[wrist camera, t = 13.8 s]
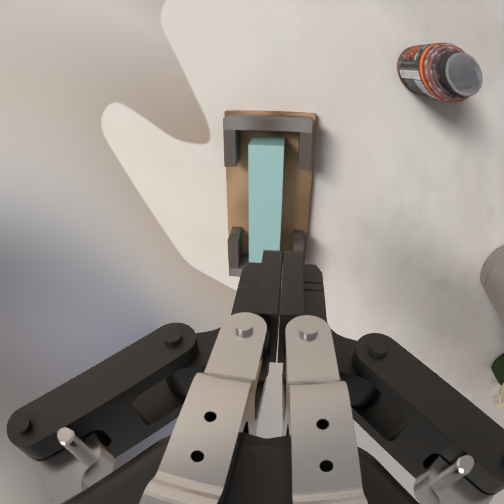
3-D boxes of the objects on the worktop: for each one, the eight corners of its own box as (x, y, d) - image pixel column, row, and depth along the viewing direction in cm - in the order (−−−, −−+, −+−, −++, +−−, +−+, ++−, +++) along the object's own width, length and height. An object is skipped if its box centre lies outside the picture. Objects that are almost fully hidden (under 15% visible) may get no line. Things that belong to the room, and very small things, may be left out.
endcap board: (314, 113, 32) (318, 118, 29) (303, 262, 43) (304, 282, 39) (226, 110, 33) (217, 115, 30) (231, 258, 44) (225, 277, 40)
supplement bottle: (418, 37, 25) (466, 29, 16) (449, 76, 27) (502, 85, 18) (384, 64, 28) (423, 63, 19) (416, 103, 30) (463, 120, 20)
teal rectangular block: (284, 137, 33) (283, 146, 30) (280, 245, 41) (278, 264, 37) (253, 136, 34) (248, 144, 30) (253, 243, 41) (248, 263, 38)
